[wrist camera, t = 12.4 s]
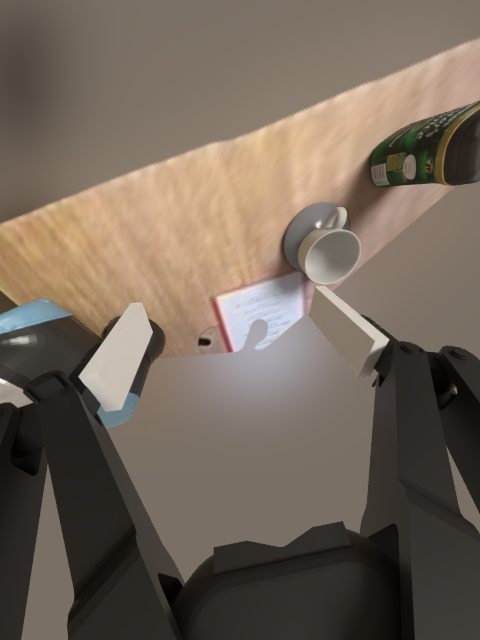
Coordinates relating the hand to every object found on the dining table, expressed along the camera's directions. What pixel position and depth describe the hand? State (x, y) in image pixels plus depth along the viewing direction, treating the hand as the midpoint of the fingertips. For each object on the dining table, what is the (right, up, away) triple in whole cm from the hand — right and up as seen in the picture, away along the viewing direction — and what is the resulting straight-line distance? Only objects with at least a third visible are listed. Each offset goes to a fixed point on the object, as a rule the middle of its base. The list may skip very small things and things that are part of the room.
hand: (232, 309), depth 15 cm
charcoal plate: (+18, +17, +29) cm, 38 cm away
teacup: (+18, +17, +28) cm, 37 cm away
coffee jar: (+30, +30, +22) cm, 48 cm away
